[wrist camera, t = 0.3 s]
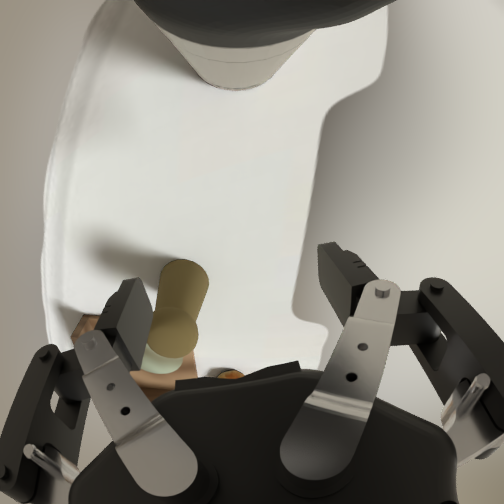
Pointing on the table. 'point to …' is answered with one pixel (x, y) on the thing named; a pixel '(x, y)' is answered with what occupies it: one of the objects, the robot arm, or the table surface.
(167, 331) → the cork
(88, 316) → the corner tray
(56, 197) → the table surface
